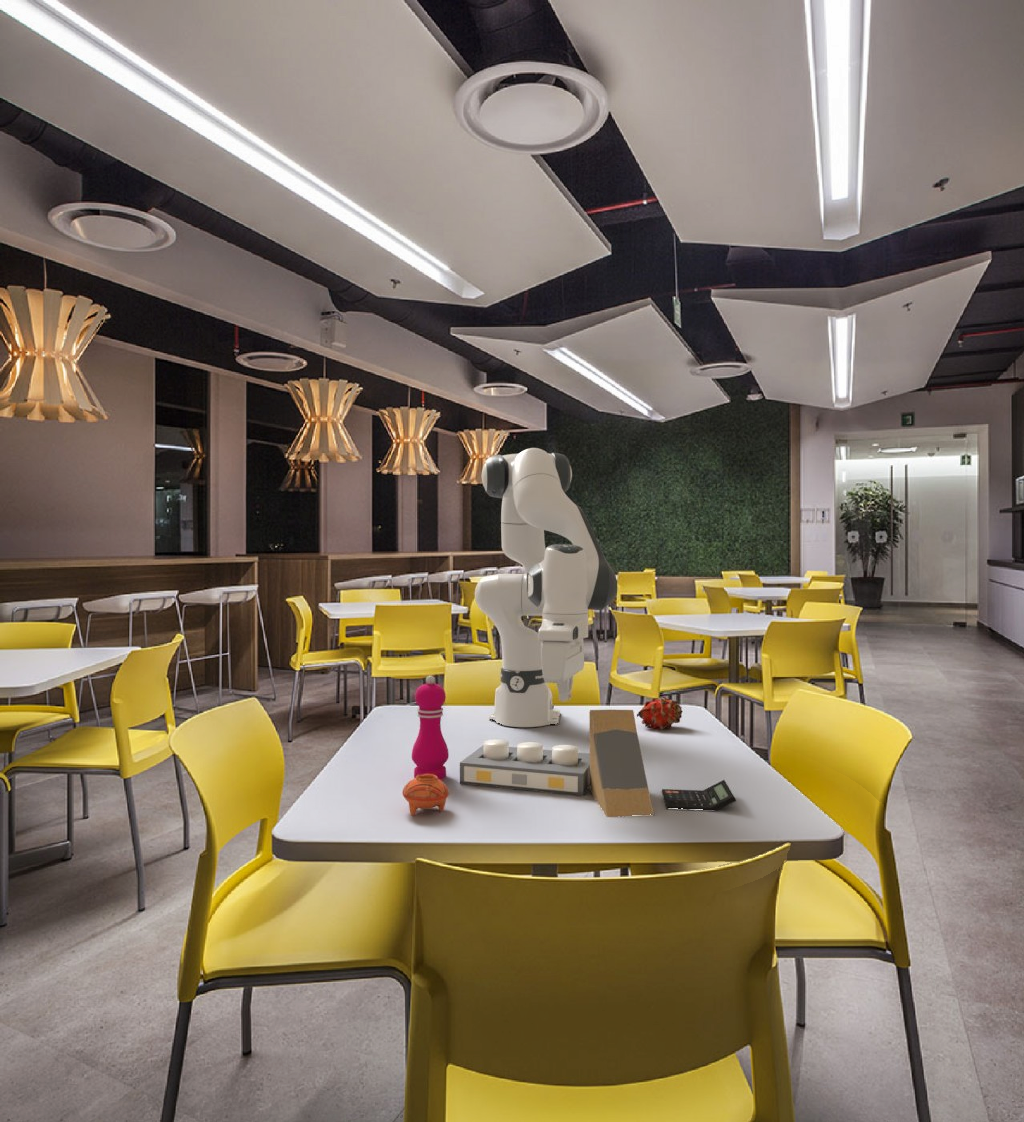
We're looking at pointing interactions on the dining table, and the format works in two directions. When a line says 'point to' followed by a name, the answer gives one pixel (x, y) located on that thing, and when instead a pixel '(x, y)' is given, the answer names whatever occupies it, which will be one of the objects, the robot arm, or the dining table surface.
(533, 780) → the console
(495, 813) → the dining table surface
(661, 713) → the dragon fruit
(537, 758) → the button middle
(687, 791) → the calculator
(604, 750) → the sandwich container
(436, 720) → the pepper mill
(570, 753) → the button container side
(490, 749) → the ball
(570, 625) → the robot arm
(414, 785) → the pot
